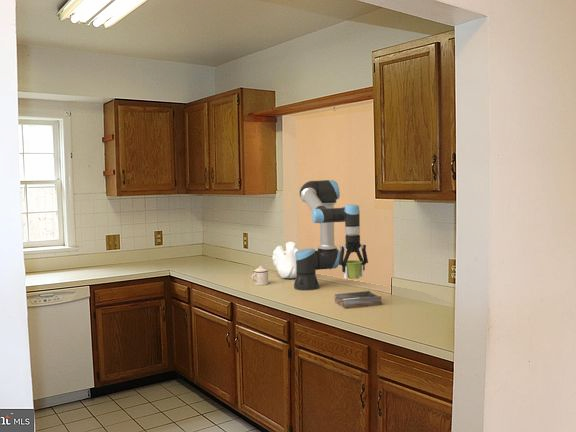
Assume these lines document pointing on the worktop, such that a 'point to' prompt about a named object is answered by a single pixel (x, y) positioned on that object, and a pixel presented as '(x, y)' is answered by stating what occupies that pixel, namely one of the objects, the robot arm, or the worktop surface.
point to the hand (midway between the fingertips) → (353, 277)
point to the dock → (357, 299)
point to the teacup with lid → (260, 276)
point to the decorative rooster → (286, 260)
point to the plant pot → (353, 269)
